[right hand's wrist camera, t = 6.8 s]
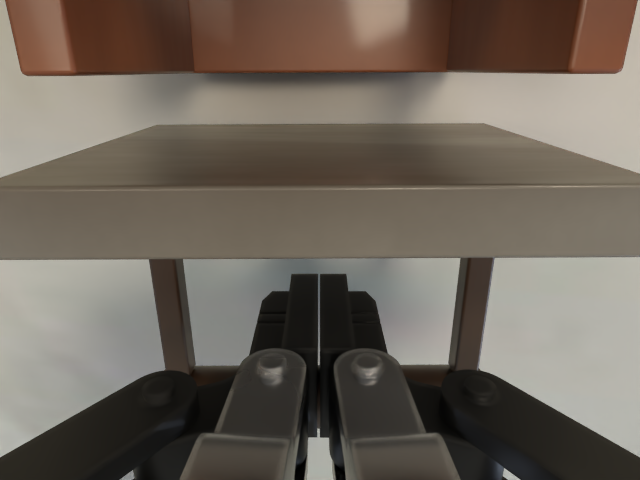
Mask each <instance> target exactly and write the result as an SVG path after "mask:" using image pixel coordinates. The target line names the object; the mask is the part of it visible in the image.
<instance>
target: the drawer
mask: <svg viewBox="0 0 640 480" xmlns="http://www.w3.org/2000/svg"><path fill="white" fill-rule="evenodd" d="M5 1H6V6H7V10H8V15H9V19H10V24H11V28H12V33H13V37H14V42H15V46H16V51H17V55H18V59H19V64H20V68H21V71H22V73H23V74H24V75H27V76H90V75H134V74H178V73H355V72H474V73H545V74H615V73H618V72H620V71H621V70H622V68H623V65H624V60H625V55H626V51H627V46H628V42H629V37H630V33H631V28H632V24H633V19H634V15H635V10H636V5H637V1H638V0H5ZM517 257H640V174H639V173H636V172H633V171H630V170H626V169H623V168H620V167H617V166H614V165H611V164H608V163H605V162H602V161H599V160H595V159H592V158H589V157H586V156H583V155H580V154H577V153H574V152H571V151H568V150H564V149H561V148H558V147H555V146H552V145H549V144H546V143H543V142H540V141H537V140H533V139H530V138H527V137H524V136H521V135H518V134H515V133H512V132H509V131H506V130H502V129H499V128H496V127H493V126H490V125H487V124H244V125H155V126H152V127H149V128H146V129H143V130H140V131H138V132H135V133H132V134H129V135H126V136H123V137H120V138H117V139H114V140H111V141H108V142H105V143H102V144H99V145H96V146H93V147H90V148H87V149H84V150H81V151H78V152H75V153H72V154H69V155H66V156H63V157H61V158H58V159H55V160H52V161H49V162H46V163H43V164H40V165H37V166H34V167H31V168H28V169H25V170H22V171H19V172H16V173H13V174H10V175H7V176H4V177H1V178H0V260H69V259H149V262H150V269H151V276H152V282H153V289H154V296H155V302H156V309H157V315H158V322H159V329H160V335H161V342H162V349H163V355H164V362H165V368H166V369H165V370H164V371H167V370H175V371H181V372H184V373H187V374H189V375H190V376H191V377H193V379H194V380H195V382H196V384H197V386H202V385H206V384H211V383H215V382H219V381H222V380H225V379H227V378H229V377H231V376H233V375H234V374H236V373H237V371H238V368H239V366H195V356H194V348H193V340H192V332H191V323H190V315H189V307H188V299H187V291H186V282H185V274H184V266H183V259H293V258H461V259H460V268H459V276H458V285H457V293H456V302H455V311H454V319H453V328H452V336H451V345H450V354H449V362H448V363H449V365H400V366H401V368H402V371H403V374H404V376H406V377H408V378H409V379H412V380H415V381H418V382H421V383H425V384H430V385H434V386H439V387H441V385H442V382H443V379H444V378H445V377H446V376H447V375H448V374H450V373H452V372H454V371H458V370H465V369H471V370H479V371H481V370H480V369H479V368H478V367H479V361H480V354H481V347H482V340H483V333H484V326H485V319H486V312H487V306H488V299H489V292H490V285H491V278H492V271H493V264H494V258H517ZM317 428H320V365H318V385H317Z"/></svg>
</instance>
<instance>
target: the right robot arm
mask: <svg viewBox="0 0 640 480" xmlns="http://www.w3.org/2000/svg"><path fill="white" fill-rule="evenodd" d="M317 385H318V274H292V275H291V282H290V290H289V291H272V292H271V293H270V294H269V295H268V296H267V297H266V298H265V299H264V300H263V301H262V304H261V308H260V314H259V316H258V321H257V325H256V329H255V333H254V337H253V341H252V345H251V350H250V354H249V356H248V357H247V358H245V359H244V360H243V361H242V363H241V364H240V366H239V368H238V371H237V373H236V374H234V375H233V376H231V377H229V378H227V379H225V380H222V381H219V382H215V383H211V384H206V385H202V386H197V384H196V382H195V380H194V379H193V377H191V376H190V375H189V374H187V373H184V372H181V371H175V370H167V371H159V372H155V373H151V374H148V375H146V376H144V377H142V378H140V379H138V380H136V381H134V382H132V383H131V384H129V385H127V386H125V387H124V388H122V389H120V390H118V391H117V392H115V393H113V394H111V395H109V396H108V397H106V398H104V399H102V400H101V401H99V402H97V403H95V404H94V405H92V406H90V407H88V408H87V409H85V410H83V411H81V412H80V413H78V414H76V415H74V416H72V417H71V418H69V419H67V420H65V421H64V422H62V423H60V424H58V425H57V426H55V427H53V428H51V429H50V430H48V431H46V432H44V433H43V434H41V435H39V436H37V437H36V438H34V439H32V440H30V441H28V442H27V443H25V444H23V445H21V446H20V447H18V448H16V449H14V450H13V451H11V452H9V453H7V454H6V455H4V456H2V457H0V480H119V479H121V478H122V477H124V476H125V475H126V474H128V473H129V472H131V471H132V470H133V473H134V477H135V478H134V479H133V480H307V471H308V455H307V449H308V437H317ZM320 437H329V450H330V455H331V458H332V471H333V479H334V480H507V479H506V478H504V477H503V471H504V468H505V469H507V470H508V471H509V472H511V473H512V474H514V475H515V476H516V477H518V478H519V479H521V480H640V457H638V456H636V455H634V454H633V453H631V452H629V451H627V450H626V449H624V448H622V447H620V446H619V445H617V444H615V443H613V442H612V441H610V440H608V439H606V438H604V437H603V436H601V435H599V434H597V433H596V432H594V431H592V430H590V429H589V428H587V427H585V426H583V425H582V424H580V423H578V422H576V421H575V420H573V419H571V418H569V417H567V416H566V415H564V414H562V413H560V412H559V411H557V410H555V409H553V408H552V407H550V406H548V405H546V404H545V403H543V402H541V401H539V400H538V399H536V398H534V397H532V396H530V395H529V394H527V393H525V392H523V391H522V390H520V389H518V388H516V387H515V386H513V385H511V384H509V383H508V382H506V381H504V380H502V379H501V378H499V377H497V376H495V375H492V374H490V373H487V372H483V371H479V370H471V369H465V370H458V371H454V372H452V373H450V374H448V375H447V376H446V377H445V378H444V379H443V382H442V385H441V387H439V386H434V385H430V384H425V383H421V382H418V381H415V380H412V379H409V378H408V377H406V376H404V374H403V371H402V368H401V366H400V364H399V363H398V361H397V360H396V359H395V358H394V357H392V356H391V355H389V354H388V353H387V349H386V344H385V340H384V336H383V331H382V327H381V324H380V319H379V314H378V310H377V306H376V301H375V300H374V299H373V298H372V297H371V296H370V295H369V294H368V293H367V292H366V291H348V285H347V276H346V274H320Z"/></svg>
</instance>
